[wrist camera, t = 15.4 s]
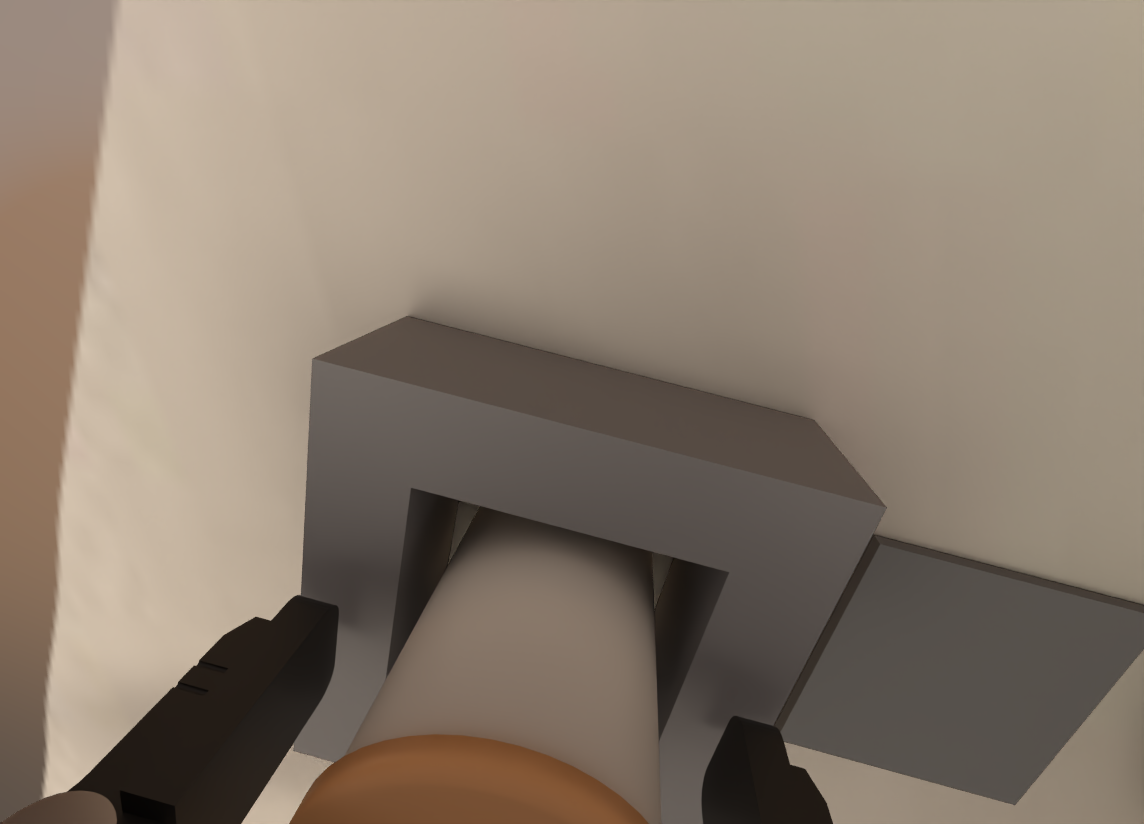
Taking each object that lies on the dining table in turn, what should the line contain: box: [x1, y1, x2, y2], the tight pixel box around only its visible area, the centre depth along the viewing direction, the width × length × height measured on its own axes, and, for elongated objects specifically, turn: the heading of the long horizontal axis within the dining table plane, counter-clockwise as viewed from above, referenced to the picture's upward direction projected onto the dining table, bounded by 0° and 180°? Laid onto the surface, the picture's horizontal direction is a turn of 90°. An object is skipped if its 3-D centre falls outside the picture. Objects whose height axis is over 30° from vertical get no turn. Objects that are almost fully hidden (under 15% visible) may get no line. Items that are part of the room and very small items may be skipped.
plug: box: [289, 506, 662, 824], centre depth 11 cm, size 5×5×9 cm
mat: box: [774, 535, 1144, 805], centre depth 14 cm, size 7×7×1 cm
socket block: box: [293, 316, 887, 824], centre depth 11 cm, size 10×15×11 cm, turn 167°
